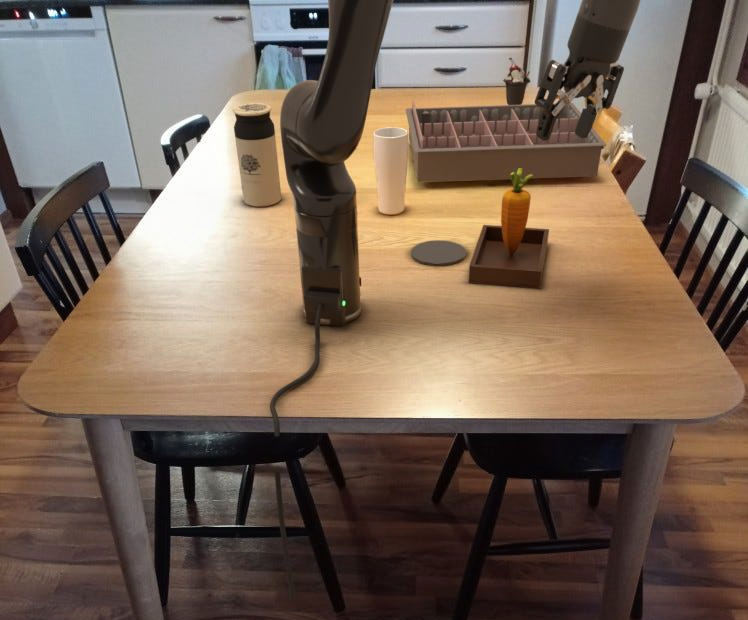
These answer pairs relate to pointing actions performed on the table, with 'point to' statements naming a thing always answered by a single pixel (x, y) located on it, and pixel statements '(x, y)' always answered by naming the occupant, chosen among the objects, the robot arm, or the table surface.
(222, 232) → the table surface
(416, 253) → the metal coaster
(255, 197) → the travel mug
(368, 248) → the table surface
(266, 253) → the table surface
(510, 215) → the carrot
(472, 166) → the organizer tray
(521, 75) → the sundae
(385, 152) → the drinking glass
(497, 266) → the tray
